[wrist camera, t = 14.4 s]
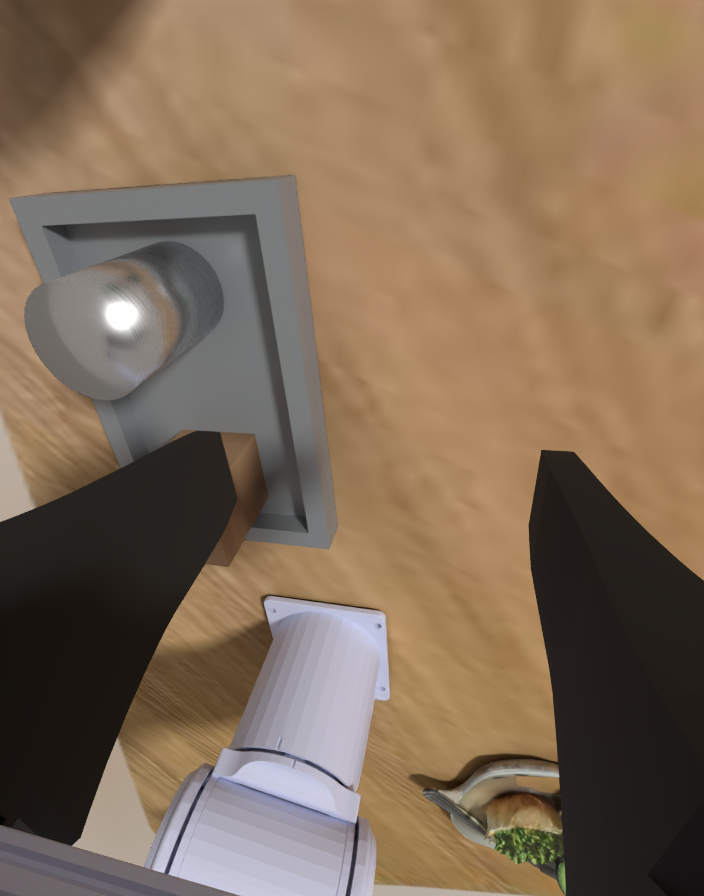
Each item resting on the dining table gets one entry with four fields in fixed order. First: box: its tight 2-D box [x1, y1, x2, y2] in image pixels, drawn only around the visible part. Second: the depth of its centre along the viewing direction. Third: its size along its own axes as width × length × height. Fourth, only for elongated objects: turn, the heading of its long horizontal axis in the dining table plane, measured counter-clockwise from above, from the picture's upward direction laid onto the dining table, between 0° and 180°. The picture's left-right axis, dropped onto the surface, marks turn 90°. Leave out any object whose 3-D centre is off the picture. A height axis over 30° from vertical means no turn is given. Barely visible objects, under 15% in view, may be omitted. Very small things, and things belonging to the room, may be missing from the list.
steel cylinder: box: [24, 241, 224, 400], centre depth 18 cm, size 4×4×6 cm
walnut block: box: [169, 430, 268, 567], centre depth 23 cm, size 4×4×5 cm
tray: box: [9, 175, 338, 549], centre depth 22 cm, size 17×11×2 cm, turn 4°
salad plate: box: [423, 759, 566, 896], centre depth 37 cm, size 19×18×5 cm
